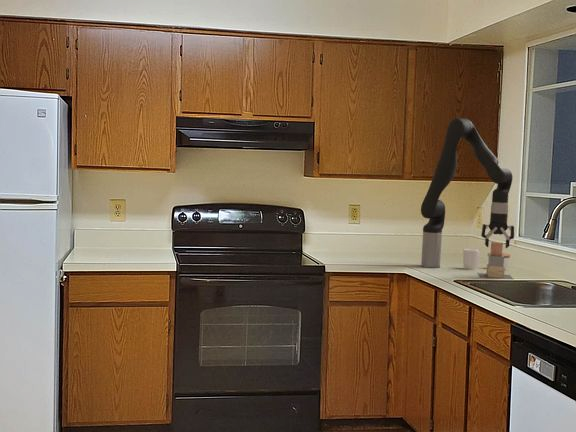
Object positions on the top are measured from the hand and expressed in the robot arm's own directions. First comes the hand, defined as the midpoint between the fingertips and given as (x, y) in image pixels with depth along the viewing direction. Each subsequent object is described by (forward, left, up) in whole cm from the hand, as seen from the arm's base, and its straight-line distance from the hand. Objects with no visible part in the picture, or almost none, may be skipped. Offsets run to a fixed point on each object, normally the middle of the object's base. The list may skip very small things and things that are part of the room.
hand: (496, 247), depth 342 cm
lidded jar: (-27, +5, -14) cm, 31 cm away
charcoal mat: (0, 0, -14) cm, 14 cm away
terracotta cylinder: (0, 0, -4) cm, 4 cm away
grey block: (0, 0, -8) cm, 8 cm away
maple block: (0, 0, -13) cm, 13 cm away
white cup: (-20, -9, -14) cm, 26 cm away
